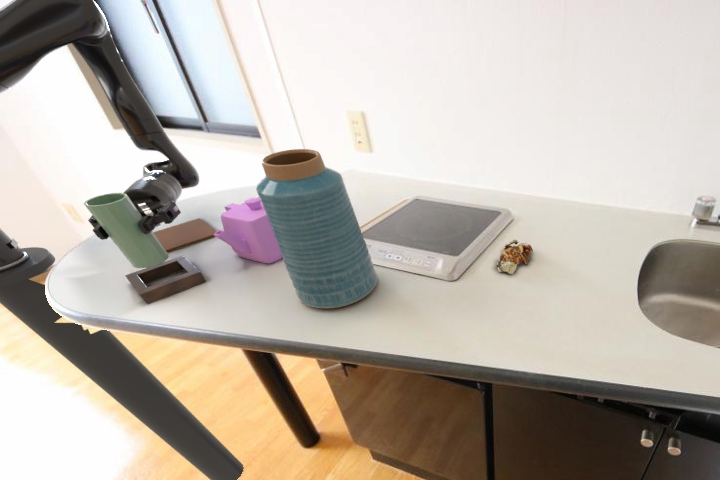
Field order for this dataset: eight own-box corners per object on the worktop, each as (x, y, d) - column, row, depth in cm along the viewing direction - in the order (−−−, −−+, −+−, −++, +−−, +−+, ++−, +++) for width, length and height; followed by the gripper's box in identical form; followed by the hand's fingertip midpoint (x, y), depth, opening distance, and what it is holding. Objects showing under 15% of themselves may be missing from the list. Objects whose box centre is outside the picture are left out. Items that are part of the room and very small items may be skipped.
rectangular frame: (147, 304, 74) (139, 294, 72) (132, 284, 79) (124, 275, 78) (206, 281, 80) (200, 271, 79) (189, 264, 85) (182, 255, 84)
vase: (366, 312, 72) (320, 173, 54) (285, 312, 72) (212, 173, 54) (386, 268, 84) (355, 142, 66) (317, 267, 84) (266, 142, 66)
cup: (137, 271, 72) (87, 209, 64) (129, 261, 75) (80, 199, 67) (173, 259, 76) (130, 198, 67) (163, 249, 79) (122, 190, 70)
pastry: (492, 271, 82) (491, 258, 80) (507, 246, 91) (507, 233, 88) (521, 277, 81) (522, 263, 78) (534, 251, 89) (535, 237, 87)
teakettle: (308, 227, 99) (290, 181, 91) (312, 256, 88) (293, 206, 80) (238, 240, 94) (212, 193, 86) (234, 272, 83) (203, 221, 74)
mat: (158, 255, 88) (156, 253, 88) (141, 238, 95) (140, 236, 95) (219, 234, 96) (218, 232, 96) (200, 220, 103) (199, 218, 103)
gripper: (99, 186, 76) (58, 219, 65) (178, 178, 80) (153, 208, 68) (123, 219, 81) (90, 255, 70) (197, 211, 85) (177, 243, 73)
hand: (121, 232), depth 69 cm, fingers closed on cup, 6 cm apart
